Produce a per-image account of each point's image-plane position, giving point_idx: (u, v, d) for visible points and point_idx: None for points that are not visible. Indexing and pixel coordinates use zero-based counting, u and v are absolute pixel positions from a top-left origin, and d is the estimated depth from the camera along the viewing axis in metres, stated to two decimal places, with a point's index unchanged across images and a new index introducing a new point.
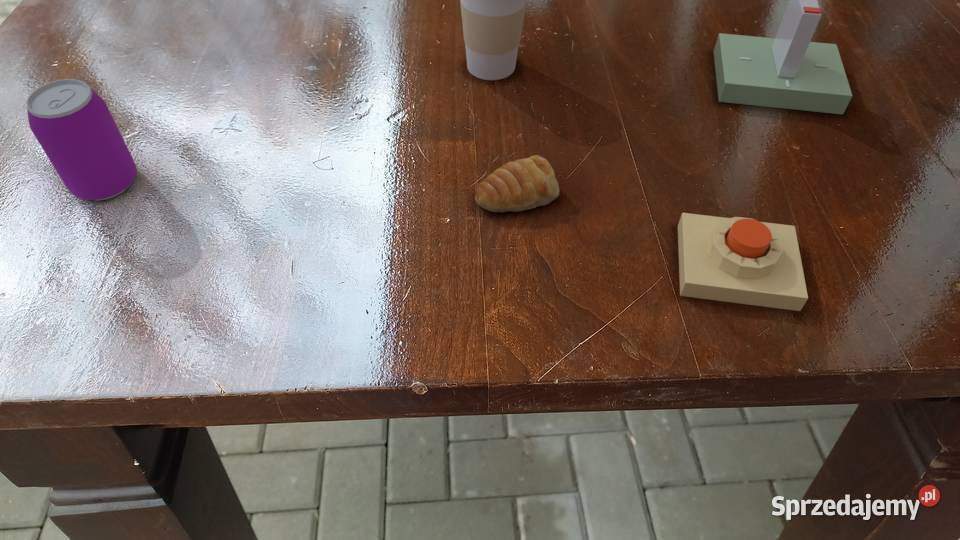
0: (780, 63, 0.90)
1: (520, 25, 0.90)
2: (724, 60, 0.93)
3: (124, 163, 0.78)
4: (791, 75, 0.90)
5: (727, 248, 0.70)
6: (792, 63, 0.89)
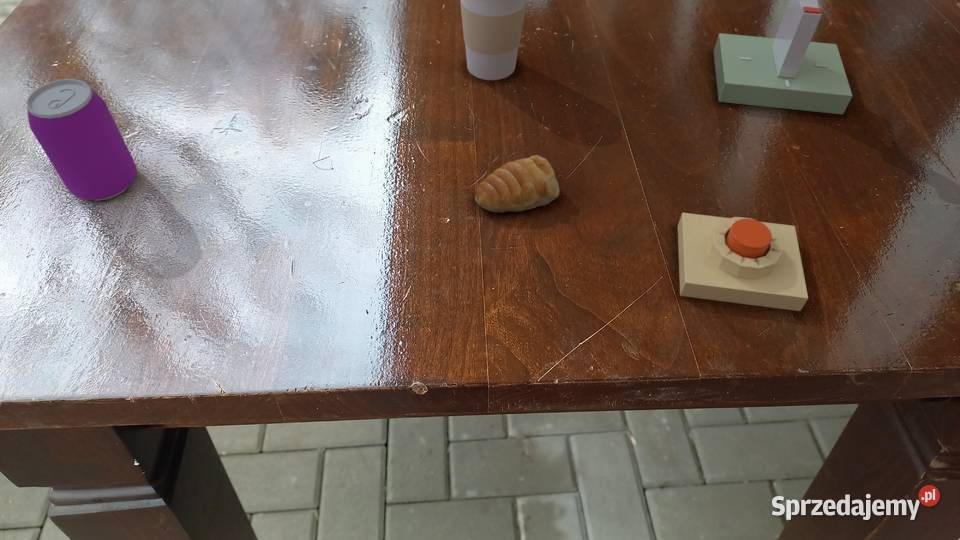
0: (780, 63, 0.90)
1: (520, 25, 0.90)
2: (724, 60, 0.93)
3: (124, 163, 0.78)
4: (791, 75, 0.90)
5: (727, 248, 0.70)
6: (792, 63, 0.89)
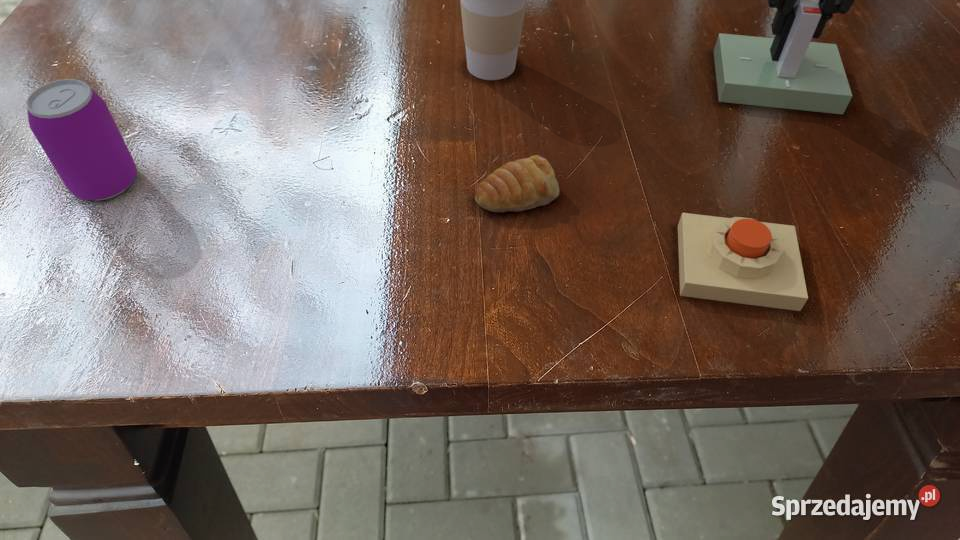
0: (780, 63, 0.90)
1: (520, 25, 0.90)
2: (724, 60, 0.93)
3: (124, 163, 0.78)
4: (791, 75, 0.90)
5: (727, 248, 0.70)
6: (792, 63, 0.89)
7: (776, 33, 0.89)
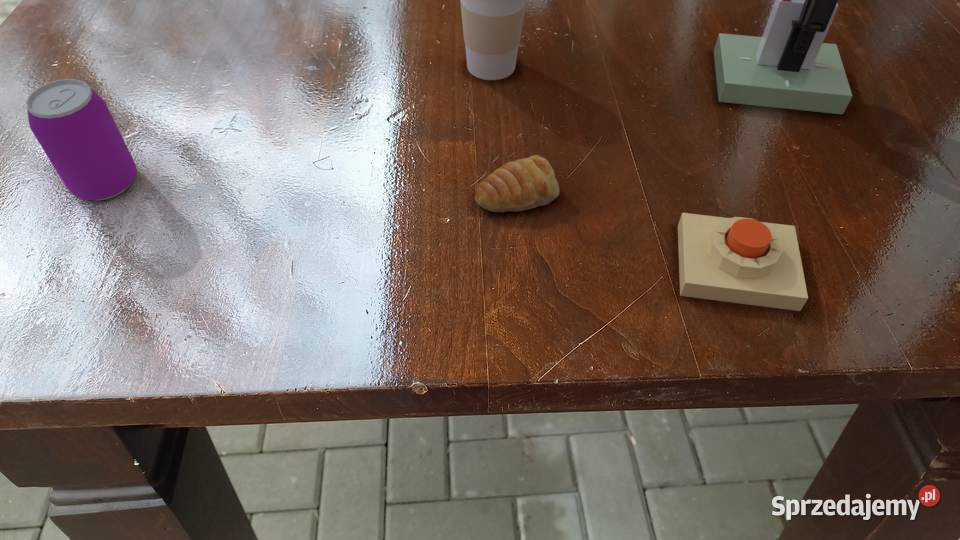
0: None
1: (520, 25, 0.90)
2: (724, 60, 0.93)
3: (124, 163, 0.78)
4: (757, 59, 0.92)
5: (727, 248, 0.70)
6: (761, 45, 0.91)
7: None
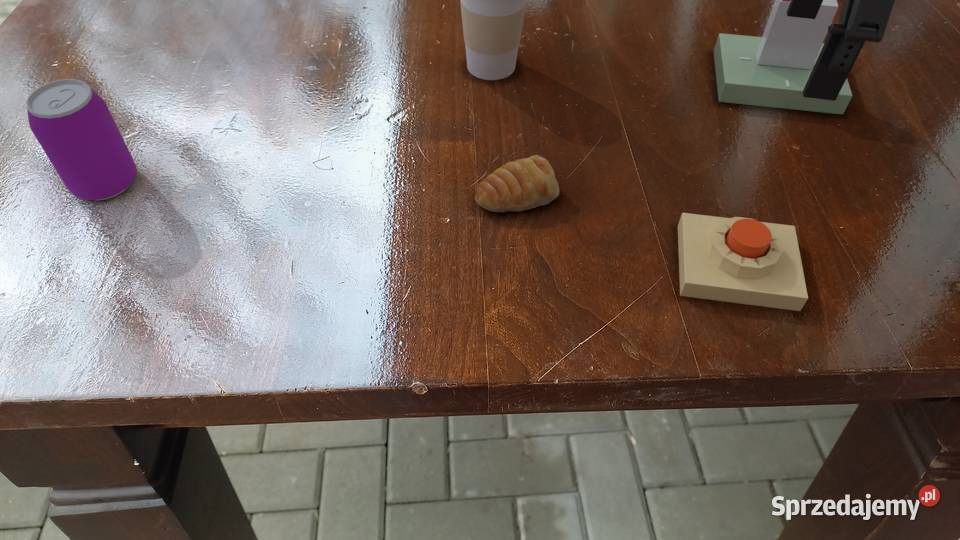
0: None
1: (520, 25, 0.90)
2: (724, 60, 0.93)
3: (124, 163, 0.78)
4: (757, 59, 0.92)
5: (727, 248, 0.70)
6: (761, 45, 0.91)
7: None
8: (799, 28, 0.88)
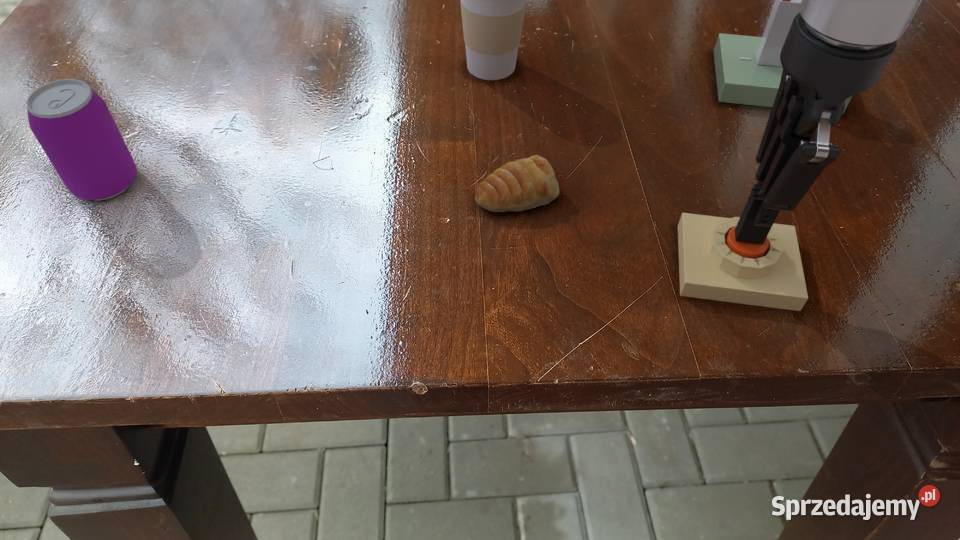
0: None
1: (520, 25, 0.90)
2: (724, 60, 0.93)
3: (124, 163, 0.78)
4: (757, 59, 0.92)
5: (727, 248, 0.70)
6: (761, 45, 0.91)
7: None
8: None
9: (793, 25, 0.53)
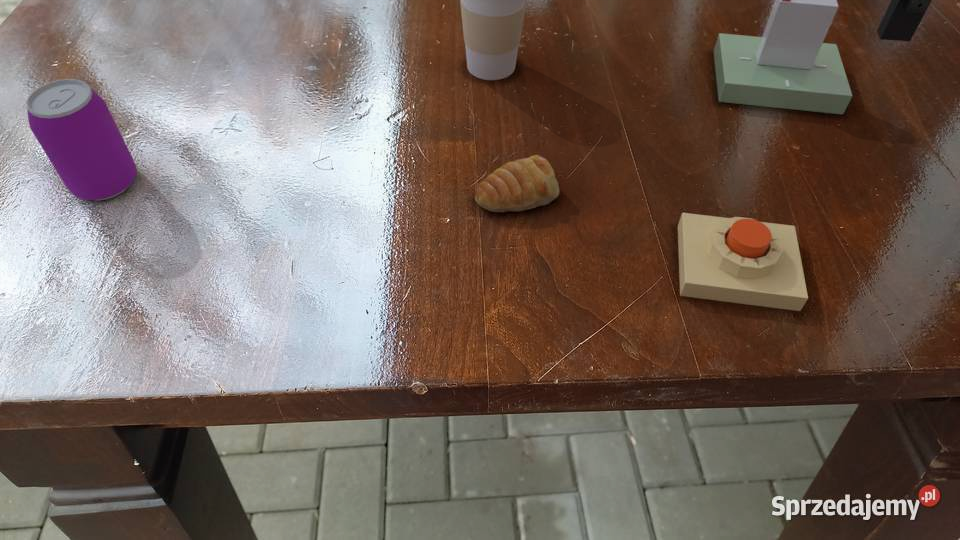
0: None
1: (520, 25, 0.90)
2: (724, 60, 0.93)
3: (124, 163, 0.78)
4: (757, 59, 0.92)
5: (727, 248, 0.70)
6: (761, 45, 0.91)
7: None
8: (799, 28, 0.88)
9: None
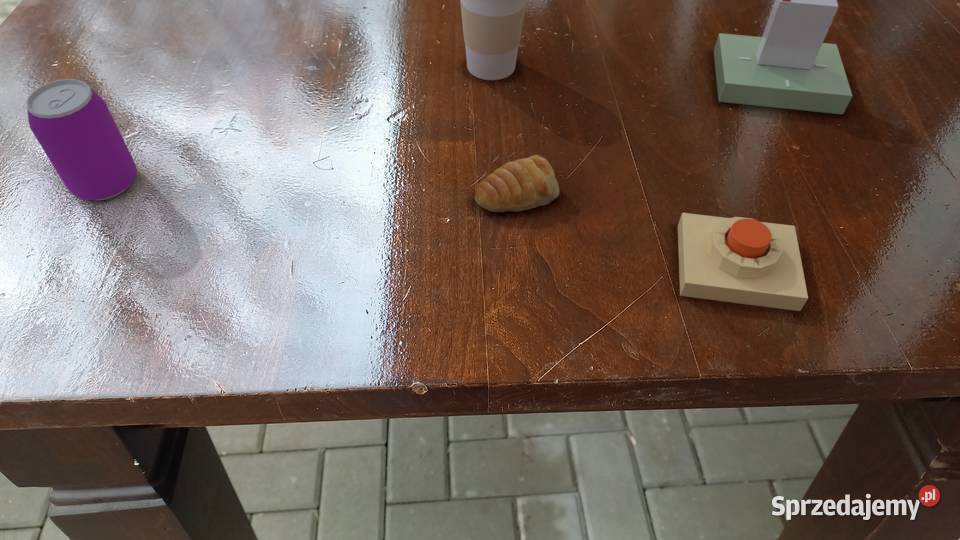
0: None
1: (520, 25, 0.90)
2: (724, 60, 0.93)
3: (124, 163, 0.78)
4: (757, 59, 0.92)
5: (727, 248, 0.70)
6: (761, 45, 0.91)
7: None
8: (799, 28, 0.88)
9: None
